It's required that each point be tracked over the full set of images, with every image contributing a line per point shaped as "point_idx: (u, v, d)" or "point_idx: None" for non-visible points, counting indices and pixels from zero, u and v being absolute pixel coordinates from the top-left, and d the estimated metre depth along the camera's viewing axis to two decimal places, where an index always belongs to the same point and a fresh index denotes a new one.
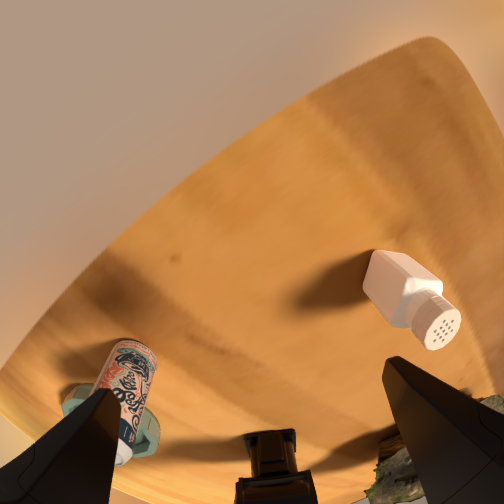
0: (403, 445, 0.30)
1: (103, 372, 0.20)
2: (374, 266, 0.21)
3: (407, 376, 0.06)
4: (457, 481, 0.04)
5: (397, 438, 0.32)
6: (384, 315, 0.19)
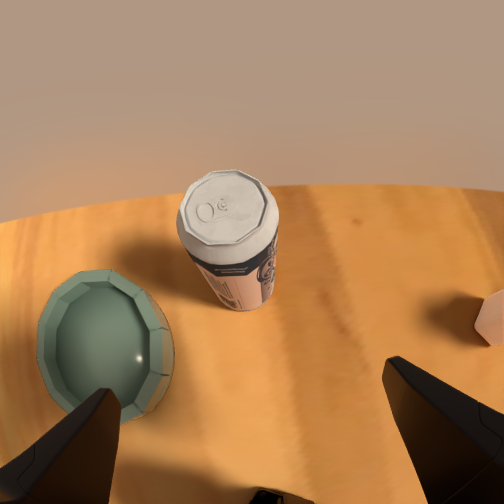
0: None
1: None
2: (488, 301, 0.19)
3: (407, 376, 0.06)
4: (456, 482, 0.04)
5: None
6: None
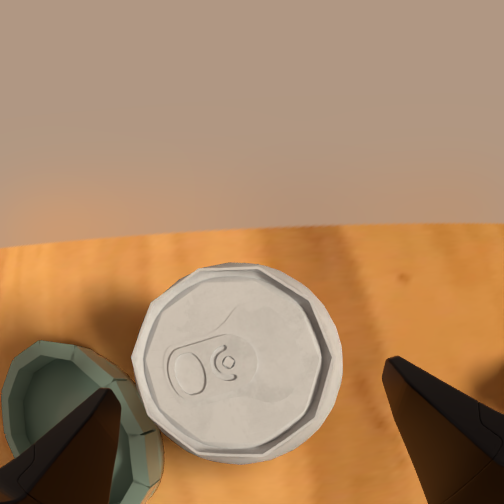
0: None
1: None
2: None
3: (407, 376, 0.06)
4: (456, 482, 0.04)
5: None
6: None
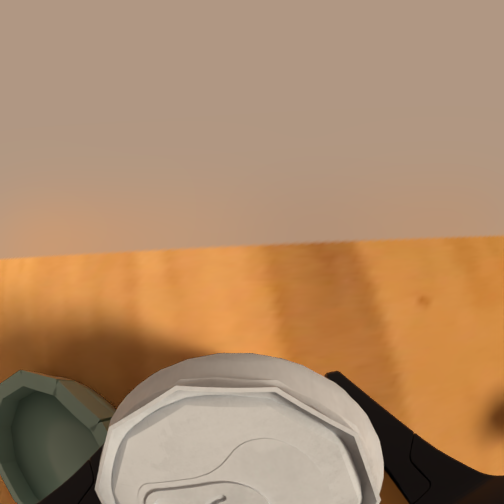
0: None
1: None
2: None
3: None
4: None
5: None
6: None
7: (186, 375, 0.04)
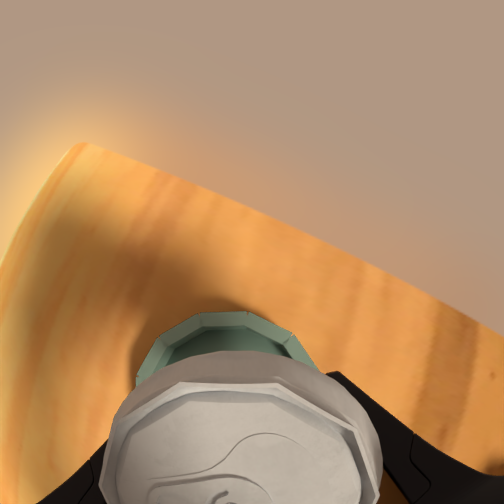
0: None
1: None
2: None
3: None
4: None
5: None
6: None
7: (189, 372, 0.04)
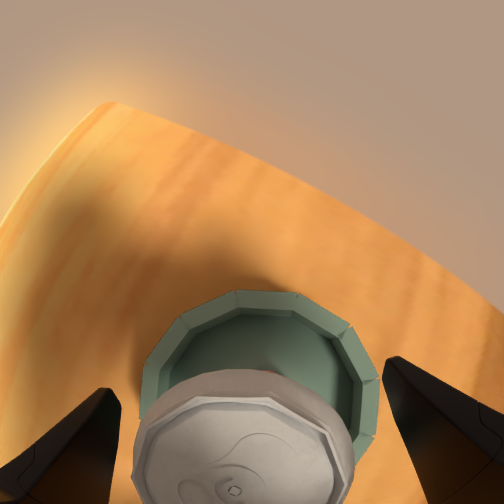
0: None
1: None
2: None
3: (407, 376, 0.06)
4: (457, 481, 0.04)
5: None
6: None
7: (202, 387, 0.05)
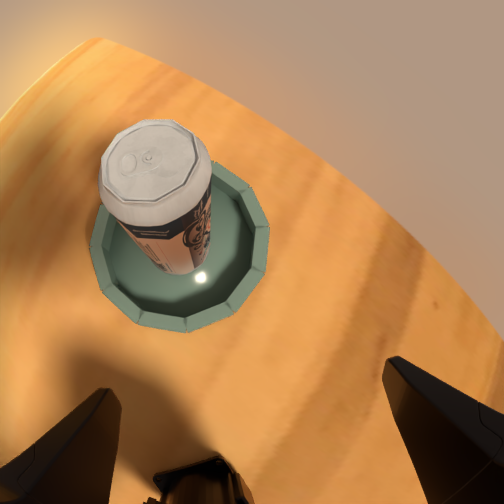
0: None
1: None
2: None
3: (407, 376, 0.06)
4: (456, 482, 0.04)
5: None
6: None
7: None
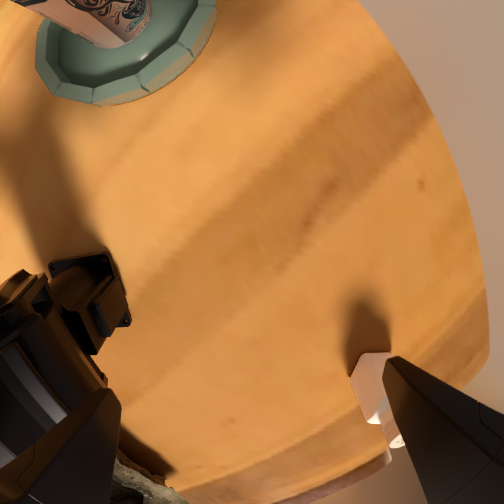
0: None
1: None
2: None
3: (407, 376, 0.06)
4: (456, 481, 0.04)
5: None
6: (383, 387, 0.20)
7: None
